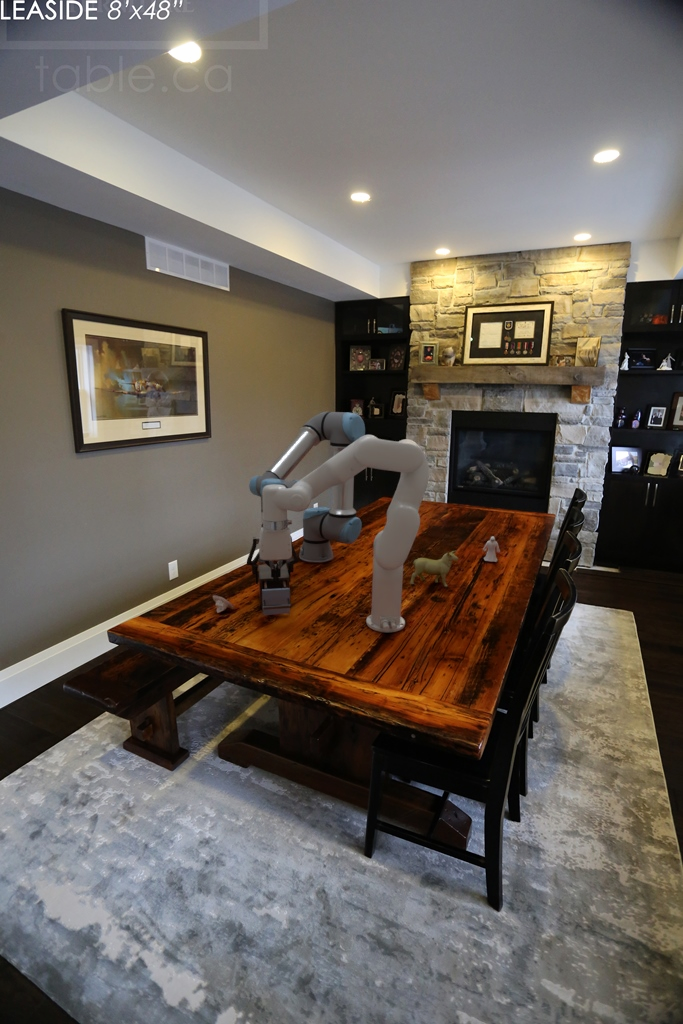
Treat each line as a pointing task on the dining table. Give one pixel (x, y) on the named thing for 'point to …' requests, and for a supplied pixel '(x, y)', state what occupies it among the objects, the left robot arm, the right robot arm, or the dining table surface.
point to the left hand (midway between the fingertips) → (273, 581)
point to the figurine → (491, 550)
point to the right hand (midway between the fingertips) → (275, 579)
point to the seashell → (221, 603)
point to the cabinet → (266, 576)
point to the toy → (434, 567)
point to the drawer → (275, 598)
